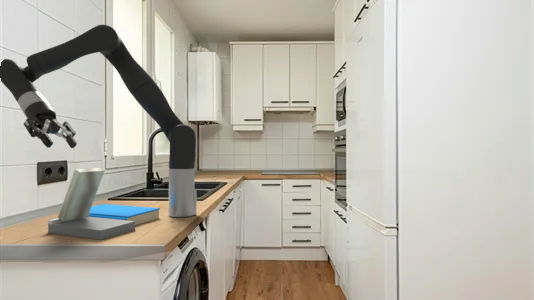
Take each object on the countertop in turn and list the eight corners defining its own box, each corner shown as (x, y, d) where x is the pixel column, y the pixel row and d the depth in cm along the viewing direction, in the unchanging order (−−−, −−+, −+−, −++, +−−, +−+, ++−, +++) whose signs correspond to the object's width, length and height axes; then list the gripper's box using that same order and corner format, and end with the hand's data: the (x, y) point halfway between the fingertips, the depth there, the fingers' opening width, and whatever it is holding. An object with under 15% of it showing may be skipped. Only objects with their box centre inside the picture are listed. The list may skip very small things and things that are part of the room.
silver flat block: (87, 216, 112) (83, 212, 113) (104, 170, 109) (100, 167, 110) (62, 221, 104) (57, 217, 104) (79, 172, 101) (75, 169, 102)
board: (85, 224, 115) (85, 212, 115) (135, 229, 108) (135, 217, 108) (48, 232, 103) (48, 220, 103) (100, 239, 96) (101, 226, 96)
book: (103, 203, 134) (160, 207, 126) (103, 215, 134) (160, 219, 126) (64, 211, 118) (126, 215, 110) (64, 224, 118) (126, 229, 110)
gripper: (20, 97, 106) (48, 136, 102) (63, 103, 119) (88, 138, 115) (8, 115, 107) (34, 154, 103) (51, 119, 121) (75, 154, 117)
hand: (62, 146), depth 109 cm, fingers open, 8 cm apart
